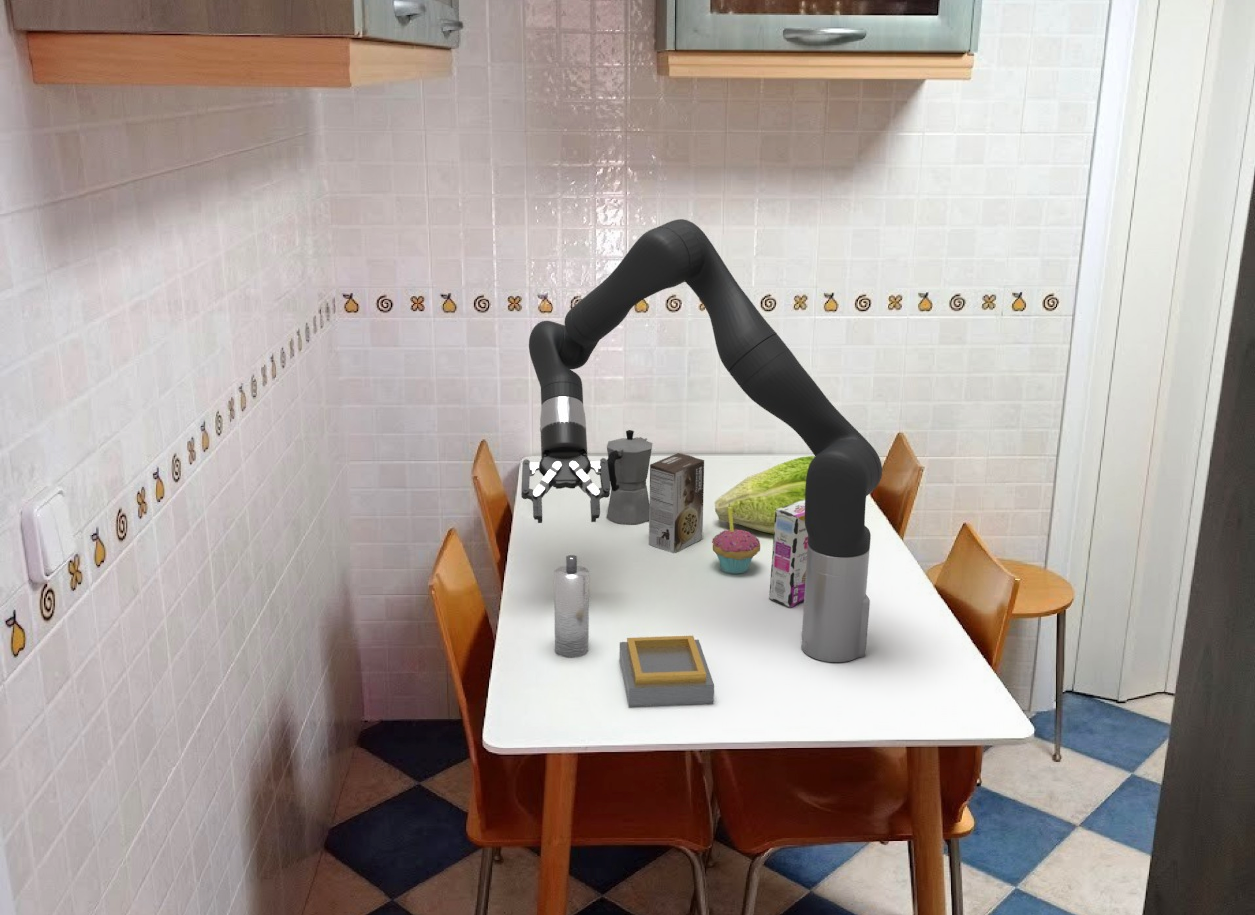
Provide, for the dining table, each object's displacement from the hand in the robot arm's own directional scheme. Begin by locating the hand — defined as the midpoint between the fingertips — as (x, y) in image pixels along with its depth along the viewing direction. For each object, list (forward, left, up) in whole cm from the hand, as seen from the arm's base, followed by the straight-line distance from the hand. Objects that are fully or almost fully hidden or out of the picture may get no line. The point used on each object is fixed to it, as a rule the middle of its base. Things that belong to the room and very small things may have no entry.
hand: (567, 520), depth 191 cm
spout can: (0, +12, -17) cm, 20 cm away
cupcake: (-31, -17, -17) cm, 39 cm away
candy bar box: (-40, -5, -17) cm, 44 cm away
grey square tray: (-13, +23, -17) cm, 31 cm away
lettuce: (-43, -36, -17) cm, 59 cm away
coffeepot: (-14, -43, -17) cm, 49 cm away
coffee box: (-22, -30, -17) cm, 41 cm away
